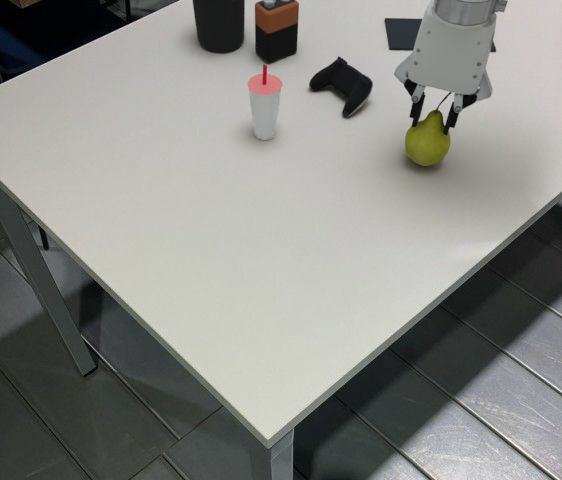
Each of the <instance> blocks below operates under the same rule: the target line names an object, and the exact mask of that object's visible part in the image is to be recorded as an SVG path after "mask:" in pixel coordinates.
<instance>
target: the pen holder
mask: <svg viewBox="0 0 562 480" xmlns="http://www.w3.org/2000/svg"><path fill="white" fill-rule="evenodd" d="M245 5H246V1H245V0H192V6H193V14H194V15H193V16H194V21H195V28H196V29H195V30H196V35H197V41H198V43H199V45H200V46H201V47H202V48H203V49H204V50H206V51H209V52H212V53H216V54H217V53H218V54H224V53H225V54H226V53H231V52H233V51H235V50H237V49H239V48H240V47H241V46H242V45H243V43H244V41H245V26H246V25H245V16H246V14H245V11H246V10H245V9H246V8H245V7H246V6H245Z"/></svg>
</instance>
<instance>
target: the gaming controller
mask: <svg viewBox="0 0 562 480" xmlns="http://www.w3.org/2000/svg"><path fill="white" fill-rule="evenodd" d="M308 86H309V88H310V89H311V91H314V92H316V91H317V92H318V91H320V90H324V89H325V88H327V87H328V88H329V87H332V88H333V89H334V90H336V91H337V92H339V93H340V94H341V95H343V96H344V97H345V98H346V101H345V103H344V106H343V108H342V115H344V116H345V117H347V118H349V117H350V116H352V115H353V114H354V113H356V112H357V111H358V110H359V109H360V108H362V106H363V105H364V104H365V103H366V102H367V100H368V99H369V97H370V96H371V93H372V91H373V88H374V82H373V80H372V79H371V78H370V77H369V76H368V75H366V74H363V73H362V72H361V71H359V69H357V68H355V67H353V66H352V65H351V64H349V63H348V62H347V60H345V59H344V58H342V57H341V56H339V55H338V56H337V58H336V59H335V60H334V61H333V62H331V63H330V64H329V65H327V66H326V67H324V68H322V69H321V70H319V71H318V72H316V73H315V74H314V75H313V76H312V77H311V79H310V80H309V83H308Z"/></svg>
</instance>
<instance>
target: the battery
mask: <svg viewBox="0 0 562 480" xmlns="http://www.w3.org/2000/svg"><path fill="white" fill-rule="evenodd" d="M299 13H300V2H299V1H297V0H259V1H257V2H256V3H255V4H254V40H255V42H254V43H255V44H254V47H255V53H256V55H258V56H259V57H260V58H261V59H262V60H263V61H264V62H266V63H267V64H271V63H273V62H276V61H278V60H281V59H283V58H286V57H287V56H288V57H289V56H291V55H293V54H296V53H297V51H298V37H299V36H298V35H299V17H300V16H299V15H300V14H299Z"/></svg>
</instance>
